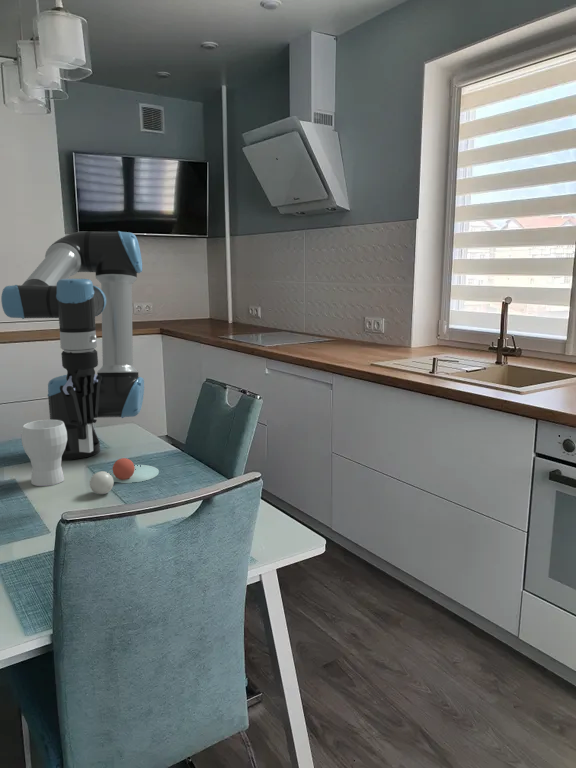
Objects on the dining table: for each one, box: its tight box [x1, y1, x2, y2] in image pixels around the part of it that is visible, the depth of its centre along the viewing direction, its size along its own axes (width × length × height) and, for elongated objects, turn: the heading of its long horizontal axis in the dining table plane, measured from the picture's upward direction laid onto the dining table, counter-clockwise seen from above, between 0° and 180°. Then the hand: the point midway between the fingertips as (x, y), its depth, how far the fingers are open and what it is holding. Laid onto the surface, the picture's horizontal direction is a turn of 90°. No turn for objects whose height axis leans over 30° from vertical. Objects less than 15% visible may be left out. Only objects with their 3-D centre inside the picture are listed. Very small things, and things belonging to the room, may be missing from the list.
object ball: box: [112, 457, 135, 480], centre depth 150 cm, size 6×6×6 cm
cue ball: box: [89, 470, 114, 495], centre depth 140 cm, size 6×6×6 cm
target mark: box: [107, 464, 160, 484], centre depth 155 cm, size 14×14×1 cm
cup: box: [20, 419, 67, 487], centre depth 148 cm, size 11×11×15 cm
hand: (86, 451), depth 134 cm, fingers closed
